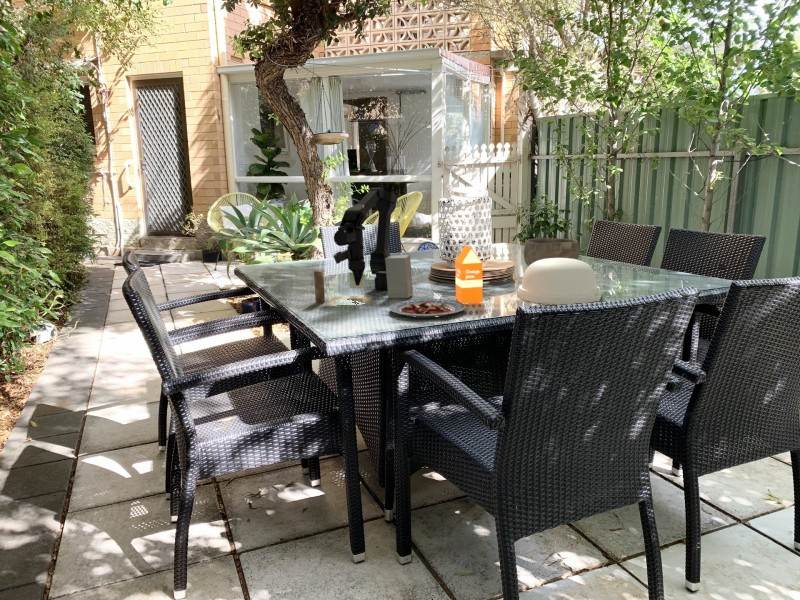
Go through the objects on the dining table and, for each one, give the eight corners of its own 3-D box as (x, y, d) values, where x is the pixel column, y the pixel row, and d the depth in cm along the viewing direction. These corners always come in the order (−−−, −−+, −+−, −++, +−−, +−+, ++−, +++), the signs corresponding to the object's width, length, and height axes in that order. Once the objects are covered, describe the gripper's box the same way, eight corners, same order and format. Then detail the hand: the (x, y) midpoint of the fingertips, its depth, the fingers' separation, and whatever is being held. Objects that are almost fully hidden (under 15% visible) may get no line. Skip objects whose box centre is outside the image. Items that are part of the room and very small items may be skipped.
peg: (325, 302, 232) (323, 270, 230) (324, 303, 229) (323, 271, 227) (315, 302, 232) (314, 270, 230) (315, 304, 229) (313, 272, 226)
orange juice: (475, 298, 231) (475, 244, 227) (482, 303, 222) (482, 247, 218) (455, 299, 230) (454, 245, 226) (461, 304, 221) (461, 248, 217)
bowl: (585, 276, 269) (586, 242, 266) (529, 278, 270) (529, 243, 267) (571, 268, 293) (571, 236, 290) (519, 269, 293) (519, 238, 290)
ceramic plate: (408, 325, 194) (408, 315, 194) (378, 309, 218) (377, 301, 217) (479, 315, 204) (479, 306, 204) (443, 301, 228) (443, 293, 227)
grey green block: (365, 284, 240) (364, 271, 239) (365, 287, 234) (364, 274, 233) (349, 285, 239) (348, 272, 238) (349, 288, 233) (348, 275, 232)
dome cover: (499, 298, 231) (499, 260, 228) (541, 286, 252) (542, 251, 250) (579, 309, 210) (580, 267, 207) (617, 294, 231) (619, 257, 228)
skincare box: (413, 295, 240) (412, 254, 236) (407, 299, 233) (406, 257, 230) (392, 294, 242) (391, 254, 239) (386, 298, 236) (384, 256, 233)
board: (370, 295, 242) (370, 295, 242) (372, 305, 224) (372, 304, 224) (329, 297, 240) (329, 296, 240) (327, 307, 223) (327, 306, 223)
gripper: (334, 241, 242) (336, 280, 245) (333, 246, 224) (335, 289, 227) (363, 240, 243) (364, 279, 246) (364, 245, 224) (366, 288, 228)
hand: (357, 283), depth 236 cm, fingers closed on grey green block, 6 cm apart
